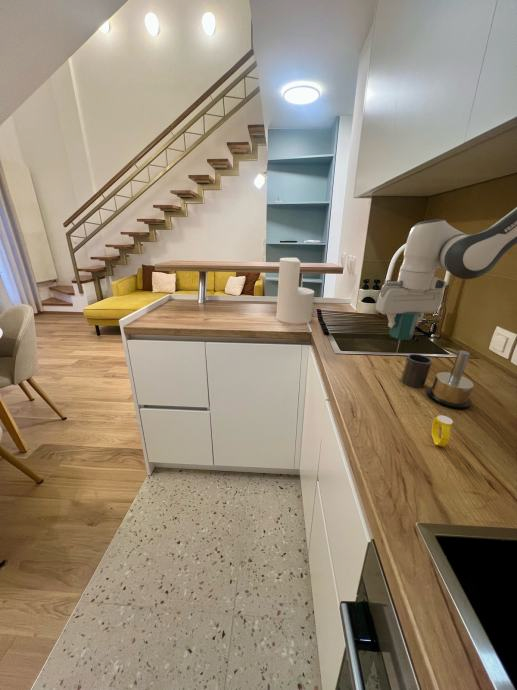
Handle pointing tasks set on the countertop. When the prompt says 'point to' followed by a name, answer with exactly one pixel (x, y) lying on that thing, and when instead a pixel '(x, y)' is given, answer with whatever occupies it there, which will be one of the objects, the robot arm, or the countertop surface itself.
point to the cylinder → (293, 294)
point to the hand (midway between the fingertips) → (402, 326)
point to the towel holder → (453, 386)
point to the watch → (446, 424)
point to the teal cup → (404, 326)
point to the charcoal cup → (416, 370)
